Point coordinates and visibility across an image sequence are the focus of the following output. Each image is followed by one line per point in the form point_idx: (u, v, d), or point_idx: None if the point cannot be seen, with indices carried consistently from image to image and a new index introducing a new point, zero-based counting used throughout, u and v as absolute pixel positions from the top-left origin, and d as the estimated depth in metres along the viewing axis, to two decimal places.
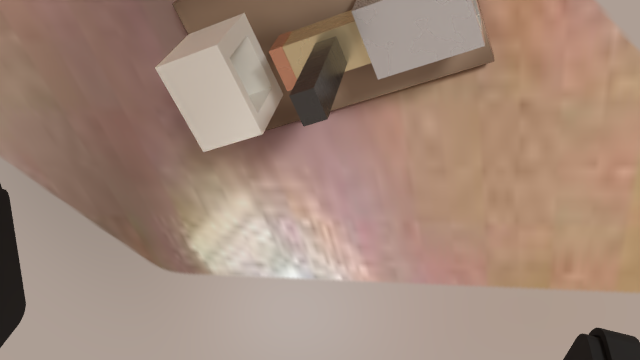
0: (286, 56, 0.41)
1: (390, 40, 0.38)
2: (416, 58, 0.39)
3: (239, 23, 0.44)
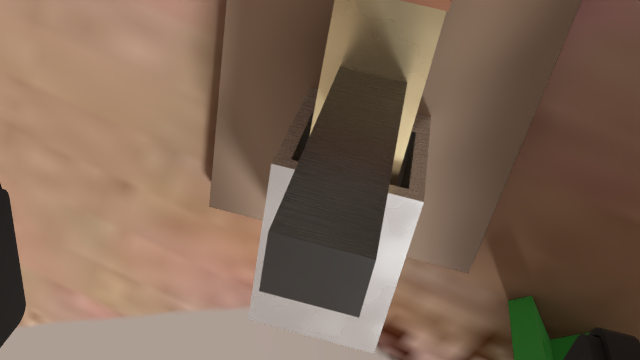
0: (419, 4, 0.16)
1: None
2: None
3: None
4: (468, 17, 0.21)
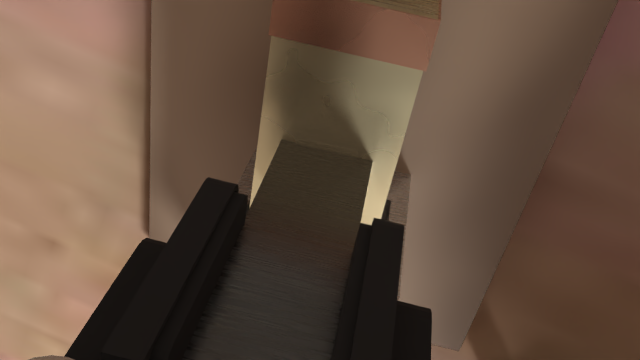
0: (385, 60, 0.12)
1: None
2: None
3: None
4: (456, 57, 0.17)
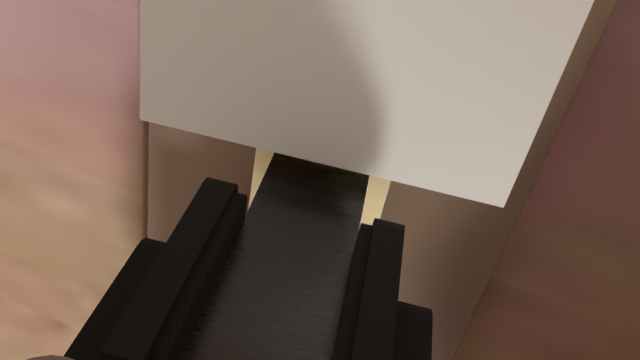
0: None
1: None
2: None
3: None
4: (407, 204, 0.19)
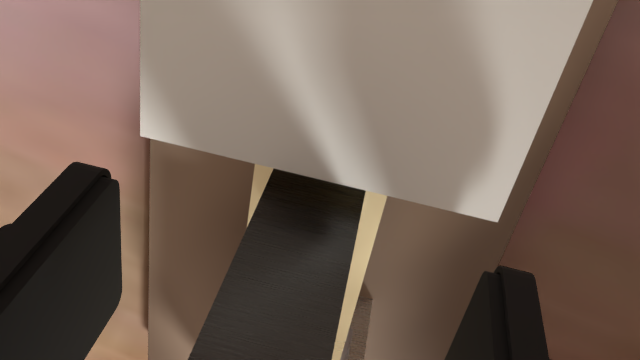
0: None
1: None
2: None
3: None
4: (406, 214, 0.20)
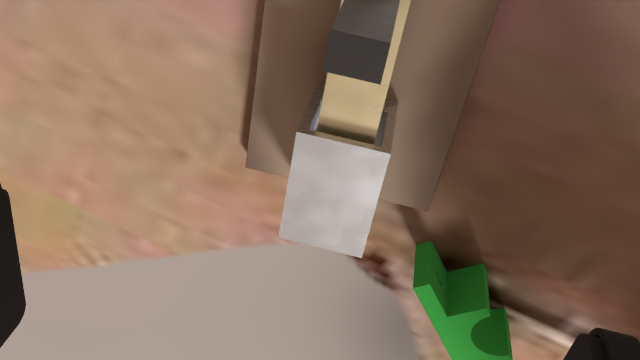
0: None
1: (334, 169, 0.31)
2: (299, 180, 0.32)
3: None
4: (420, 37, 0.33)
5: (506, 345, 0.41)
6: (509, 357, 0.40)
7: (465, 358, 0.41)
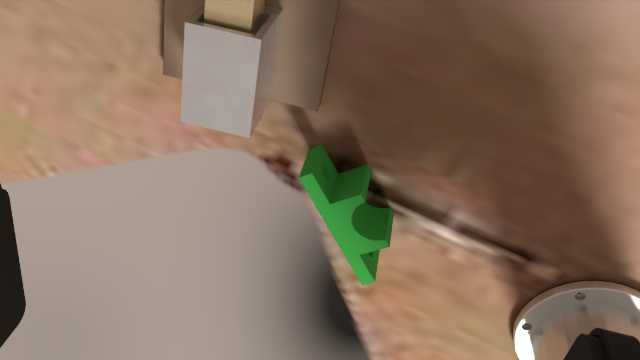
0: None
1: (218, 55, 0.38)
2: (191, 66, 0.39)
3: None
4: None
5: (385, 232, 0.48)
6: (386, 241, 0.47)
7: (349, 244, 0.48)
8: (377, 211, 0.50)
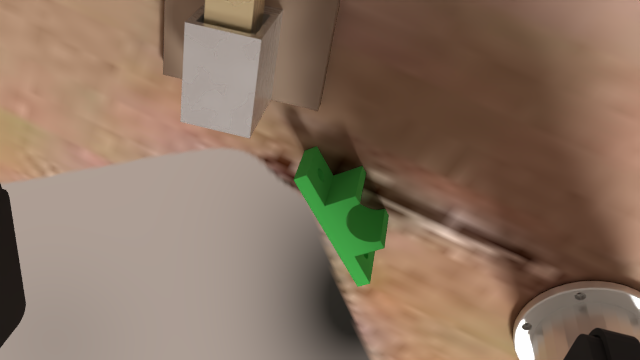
0: None
1: (218, 55, 0.38)
2: (191, 66, 0.39)
3: None
4: None
5: (379, 234, 0.48)
6: (380, 243, 0.47)
7: (344, 245, 0.48)
8: (372, 213, 0.50)
